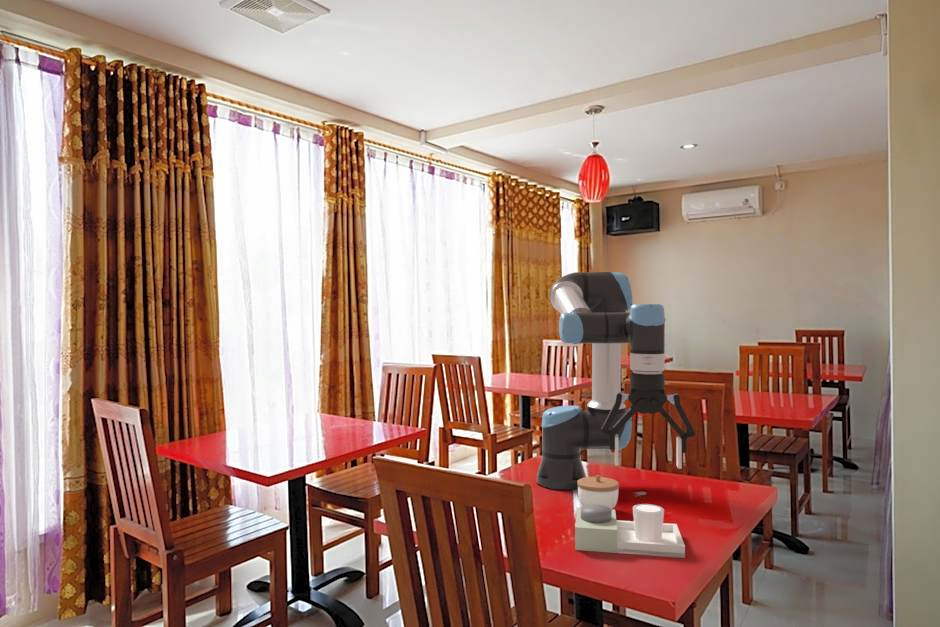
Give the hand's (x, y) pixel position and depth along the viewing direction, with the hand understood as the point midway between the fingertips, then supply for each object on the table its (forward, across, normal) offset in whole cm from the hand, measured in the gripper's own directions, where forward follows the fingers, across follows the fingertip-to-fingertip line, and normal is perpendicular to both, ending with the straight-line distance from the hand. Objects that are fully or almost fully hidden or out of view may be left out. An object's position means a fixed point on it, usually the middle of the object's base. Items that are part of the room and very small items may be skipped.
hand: (647, 465), depth 138 cm
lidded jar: (+18, -11, +21) cm, 29 cm away
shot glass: (+17, 0, 0) cm, 17 cm away
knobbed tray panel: (+18, -4, 0) cm, 18 cm away
